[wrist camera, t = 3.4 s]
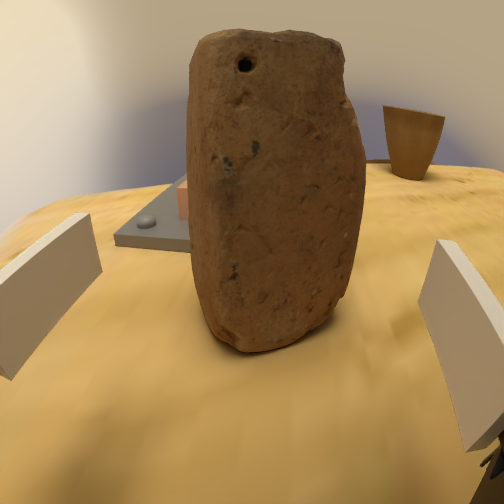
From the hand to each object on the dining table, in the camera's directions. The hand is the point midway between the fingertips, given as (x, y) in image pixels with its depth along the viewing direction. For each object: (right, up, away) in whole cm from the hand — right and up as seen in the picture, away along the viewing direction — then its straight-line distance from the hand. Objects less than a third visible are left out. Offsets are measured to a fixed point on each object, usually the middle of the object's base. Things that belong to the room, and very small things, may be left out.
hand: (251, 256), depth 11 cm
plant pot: (+36, +18, +56) cm, 69 cm away
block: (+1, -5, +14) cm, 15 cm away
